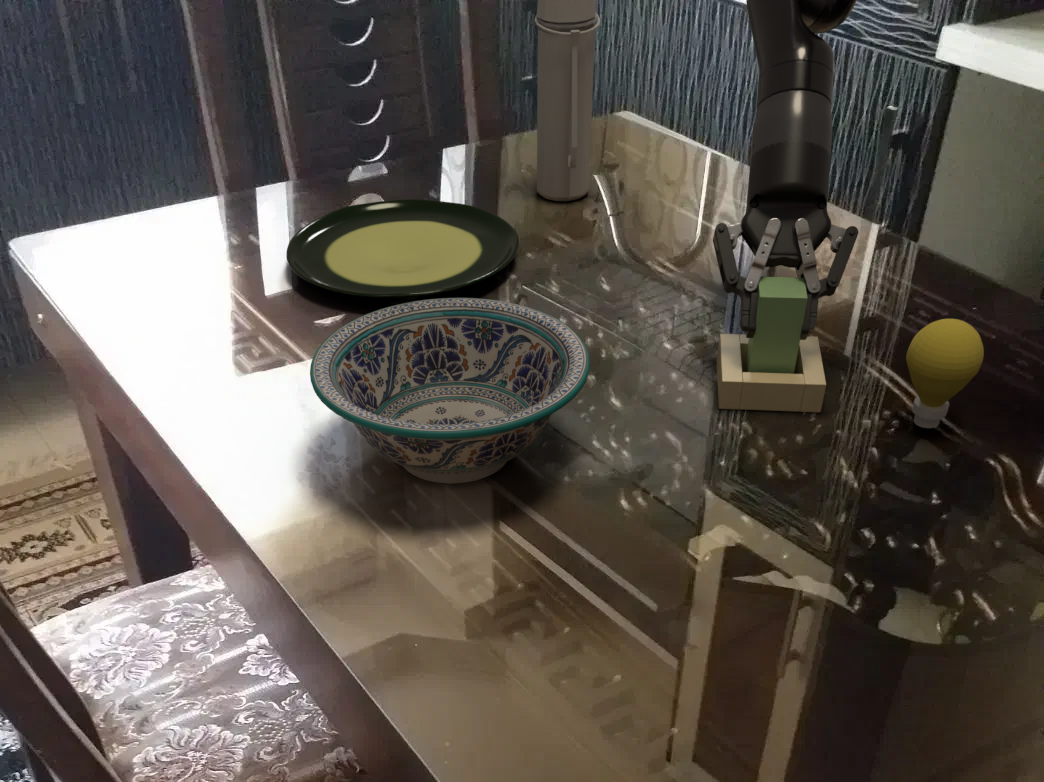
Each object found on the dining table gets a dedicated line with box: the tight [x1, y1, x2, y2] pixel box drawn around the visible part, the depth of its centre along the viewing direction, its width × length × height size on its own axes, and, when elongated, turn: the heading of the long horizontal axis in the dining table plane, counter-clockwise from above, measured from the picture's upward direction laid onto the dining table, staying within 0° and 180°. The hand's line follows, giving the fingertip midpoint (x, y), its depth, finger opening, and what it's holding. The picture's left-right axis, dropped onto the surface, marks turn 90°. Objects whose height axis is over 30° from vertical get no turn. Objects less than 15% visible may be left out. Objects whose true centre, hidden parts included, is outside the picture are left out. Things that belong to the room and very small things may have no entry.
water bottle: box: [533, 0, 601, 202], centre depth 144 cm, size 9×8×25 cm
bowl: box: [309, 297, 591, 484], centre depth 106 cm, size 25×25×10 cm
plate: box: [285, 198, 520, 299], centre depth 138 cm, size 28×28×2 cm
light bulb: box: [905, 318, 985, 429], centre depth 107 cm, size 7×7×10 cm
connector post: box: [746, 276, 808, 374], centre depth 112 cm, size 4×4×8 cm
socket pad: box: [715, 333, 827, 413], centre depth 115 cm, size 10×10×3 cm
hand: (777, 335), depth 111 cm, fingers closed on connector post, 4 cm apart
